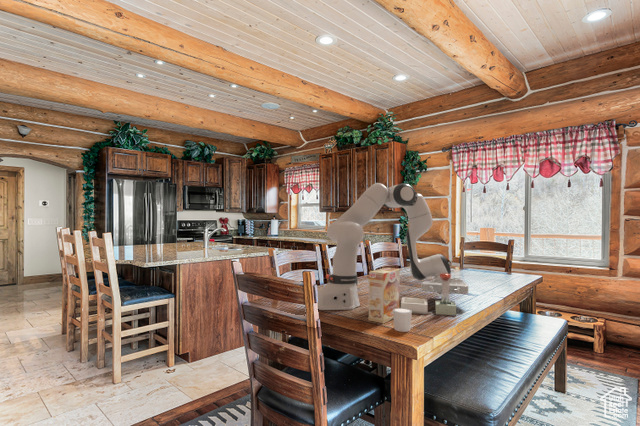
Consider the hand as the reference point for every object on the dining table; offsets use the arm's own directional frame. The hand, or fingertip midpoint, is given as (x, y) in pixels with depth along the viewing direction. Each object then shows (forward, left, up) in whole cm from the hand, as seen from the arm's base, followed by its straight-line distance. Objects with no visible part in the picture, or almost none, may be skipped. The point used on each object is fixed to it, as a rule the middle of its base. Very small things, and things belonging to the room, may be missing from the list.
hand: (445, 290), depth 154 cm
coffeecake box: (-30, -2, -9) cm, 31 cm away
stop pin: (-1, -1, -9) cm, 9 cm away
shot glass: (-30, -17, -9) cm, 35 cm away
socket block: (-1, -1, -9) cm, 9 cm away
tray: (-12, +6, -9) cm, 16 cm away
